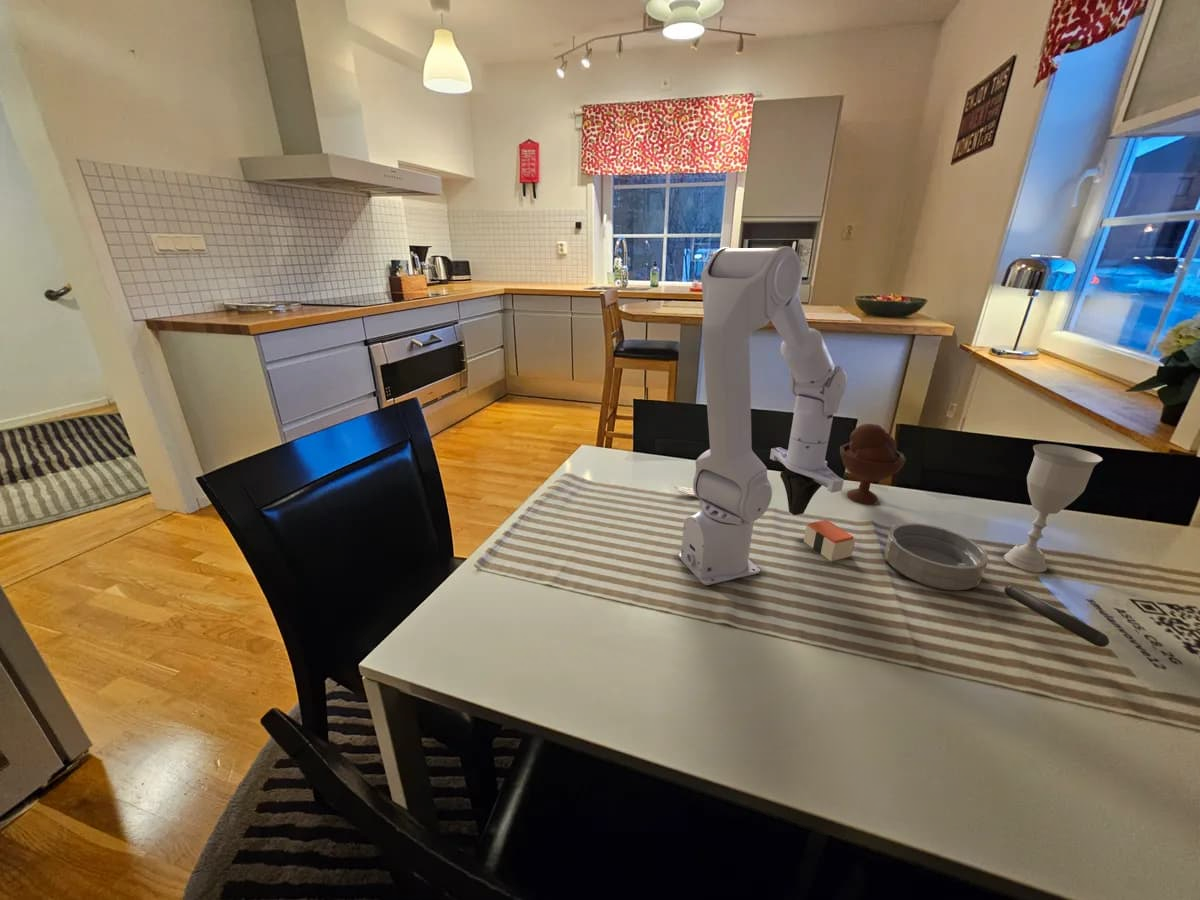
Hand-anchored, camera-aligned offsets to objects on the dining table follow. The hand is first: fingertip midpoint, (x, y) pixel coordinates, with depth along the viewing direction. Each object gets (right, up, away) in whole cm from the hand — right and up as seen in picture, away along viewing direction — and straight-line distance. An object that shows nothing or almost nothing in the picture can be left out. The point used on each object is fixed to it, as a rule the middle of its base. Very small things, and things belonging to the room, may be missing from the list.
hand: (796, 512), depth 83 cm
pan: (+16, -7, -10) cm, 20 cm away
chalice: (+31, -7, -9) cm, 33 cm away
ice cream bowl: (+17, +1, +11) cm, 21 cm away
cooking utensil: (-16, +3, +13) cm, 20 cm away
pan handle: (+21, -10, -24) cm, 34 cm away
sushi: (+3, -5, -6) cm, 8 cm away
